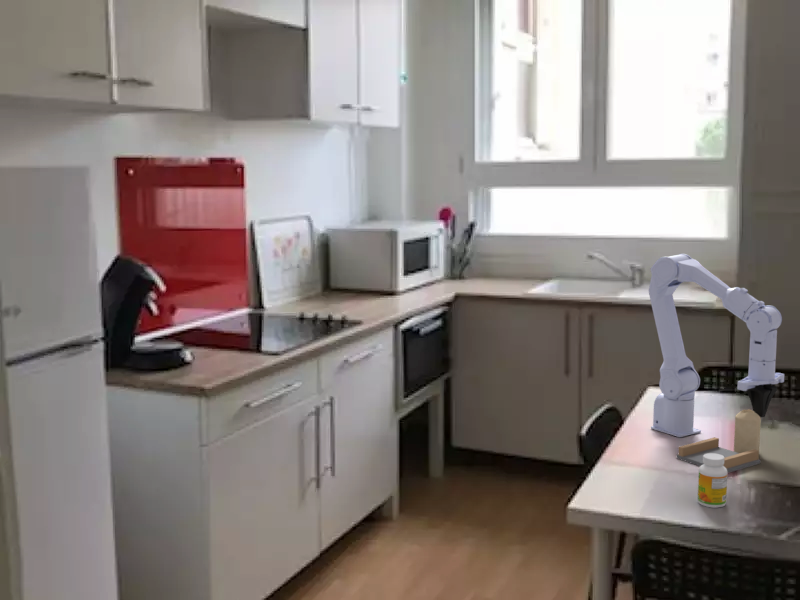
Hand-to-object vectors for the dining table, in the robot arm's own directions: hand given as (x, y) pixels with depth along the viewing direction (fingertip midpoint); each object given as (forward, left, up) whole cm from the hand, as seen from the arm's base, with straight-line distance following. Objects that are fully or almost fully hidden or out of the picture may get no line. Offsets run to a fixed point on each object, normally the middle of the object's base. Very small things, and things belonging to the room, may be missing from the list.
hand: (759, 416), depth 215 cm
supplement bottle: (+16, -36, -8) cm, 40 cm away
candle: (0, -4, -8) cm, 9 cm away
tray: (0, -14, -8) cm, 16 cm away
